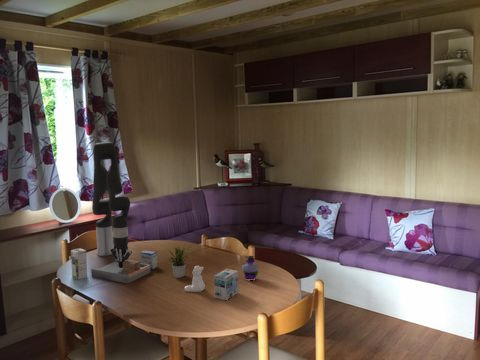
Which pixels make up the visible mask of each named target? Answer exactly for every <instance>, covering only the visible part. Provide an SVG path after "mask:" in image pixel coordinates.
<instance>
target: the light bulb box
mask: <svg viewBox="0 0 480 360" xmlns="http://www.w3.org/2000/svg"><path fill="white" fill-rule="evenodd" d="M239 273H240V272H239V270H234V269H231V268H225V269H224V270H222V271H220V272H218V273H216V274H214V299H218V300H222V301H225V300H227V301H228V299H229V298H230V299H231V297H232V296H233V297H235V296H236V295H235V294H236V293H238V292H240V291H239V285H240V284H239V282H240V281H239V279H240V278H239V275H240V274H239ZM234 295H235V296H234ZM233 297H232V298H233ZM230 299H229V300H230Z"/></svg>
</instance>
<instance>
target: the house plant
mask: <svg viewBox="0 0 480 360" xmlns="http://www.w3.org/2000/svg"><path fill="white" fill-rule="evenodd" d="M186 248H187V245H185V246H183V248H182V249H181V248H180V245H175V246H174V250H175V251H174V253H175V254H174V253H173V252H172V251H171V250H170V249H168V248H166V250H167V251H168V252H169V253H170V254H171V255H170V254H169V255H168V256H169V257H168V260H169V262H172V263H171V268H172V272H173V277H174V278H177V279H178V278H183V277H184V276H185V271H186V265H187V264H186V263H185V262H186V260H187V259H188V258H190V255H187V254H188V253H189V252H190V250H189V249H191V248H192V249H193V248H194V247H188V248H187V249H186Z"/></svg>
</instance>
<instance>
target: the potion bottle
mask: <svg viewBox="0 0 480 360" xmlns="http://www.w3.org/2000/svg"><path fill="white" fill-rule="evenodd" d="M245 262H246V263H245V264H242V265H241V267H242V271H243V274H244V279H245V278H246V279H254V278H255V277H256V278H257V276H258V275H259V268H260V266H259V264H257V263H255V262H256V260H255V257H254V256H253V255H247V258H245Z"/></svg>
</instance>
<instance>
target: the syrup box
mask: <svg viewBox="0 0 480 360" xmlns="http://www.w3.org/2000/svg"><path fill="white" fill-rule="evenodd" d="M70 260H71V277H72V279H75V280H77V281H78V280H83V279H85V278H88V262H87V260H88V259H87V250H86V249H83V248H75V249H71V250H70Z"/></svg>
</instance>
